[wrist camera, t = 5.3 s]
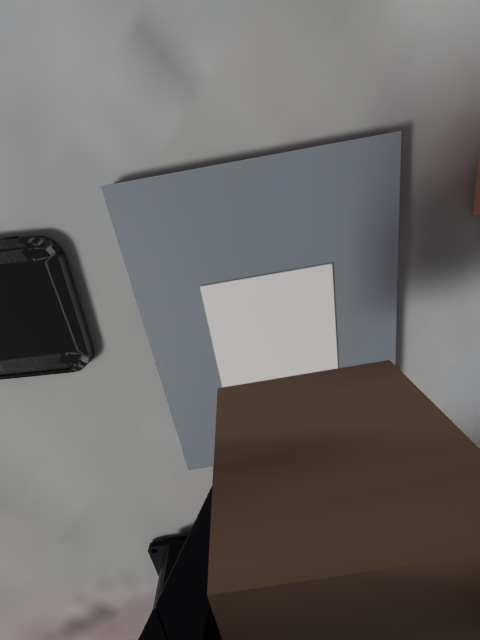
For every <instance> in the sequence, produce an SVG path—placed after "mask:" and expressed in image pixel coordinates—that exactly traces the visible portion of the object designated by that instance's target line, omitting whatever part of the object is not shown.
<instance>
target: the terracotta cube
mask: <svg viewBox="0 0 480 640" xmlns="http://www.w3.org/2000/svg"><path fill="white" fill-rule="evenodd" d="M473 216H480V151H479V160H478V169H477V179H476V188H475V198H474V207H473Z"/></svg>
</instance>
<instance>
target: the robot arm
mask: <svg viewBox="0 0 480 640" xmlns="http://www.w3.org/2000/svg"><path fill="white" fill-rule="evenodd" d="M212 486H213V485H212ZM211 506H212V487H211V489H210V491H209V493H208V495H207V498H206V500H205V502H204V504H203V506H202V508H201V510H200V512H199V514H198V516H197V519H196V521H195V523H194V525H193V527H192V529H191V531H190V533H189V535H188V537H181V538H175V539H168V540H162V541H155V542H151V543H150V545H149V549H148V552H149V555H150V557H151V559H152V562H153V564H154V566H155V568H156V571H157V573H158V575H159V579H158V585H157V590H156V596H155V601H154V607H153V610H152V612H151V614H150V617H149V619H148V621H147V623H146V625H145V627H144V629H143V631H142V633H141V635H140V637H139V639H138V640H222V637H221V634H220V631H219V628H218V626H217V623H216V620H215V617H214V614H213V611H212V608H211V606H210V603H209V600H208V597H207V585H208V565H209V545H210V526H211Z"/></svg>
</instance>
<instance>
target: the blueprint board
mask: <svg viewBox="0 0 480 640" xmlns="http://www.w3.org/2000/svg"><path fill="white" fill-rule="evenodd" d="M400 166H401V131H397V132H392V133H386V134H381V135H376V136H370V137H365V138H359V139H354V140H348V141H343V142H337V143H332V144H327V145H321V146H316V147H310V148H305V149H299V150H294V151H289V152H283V153H278V154H272V155H267V156H261V157H256V158H250V159H245V160H240V161H234V162H229V163H223V164H218V165H212V166H207V167H202V168H196V169H191V170H185V171H180V172H174V173H169V174H163V175H158V176H153V177H147V178H142V179H136V180H131V181H125V182H120V183H115V184H109V185H104V186H101V188H102V191H103V194H104V197H105V201H106V204H107V207H108V210H109V214H110V217H111V220H112V223H113V226H114V230H115V233H116V236H117V239H118V243H119V246H120V249H121V252H122V256H123V259H124V262H125V265H126V268H127V272H128V275H129V278H130V281H131V285H132V288H133V291H134V294H135V298H136V301H137V304H138V307H139V311H140V314H141V317H142V320H143V323H144V327H145V330H146V333H147V336H148V340H149V343H150V346H151V349H152V353H153V356H154V359H155V362H156V365H157V369H158V372H159V375H160V378H161V382H162V385H163V388H164V391H165V395H166V398H167V401H168V404H169V408H170V411H171V414H172V417H173V420H174V424H175V427H176V430H177V433H178V437H179V440H180V443H181V446H182V450H183V453H184V456H185V459H186V462H187V466H188V469H189V470H191V469H198V468H204V467H210V466H214V447H215V427H216V408H217V388H222V387H228V386H234V385H240V384H246V383H252V382H258V381H265V380H271V379H277V378H283V377H289V376H295V375H301V374H307V373H313V372H319V371H325V370H331V369H337V368H343V367H349V366H355V365H361V364H367V363H373V362H379V361H385V360H390V361H391V362H392V363H393V364H394V365H395V363H396V324H397V284H398V245H399V205H400Z"/></svg>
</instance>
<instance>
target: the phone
mask: <svg viewBox="0 0 480 640" xmlns="http://www.w3.org/2000/svg"><path fill="white" fill-rule="evenodd" d="M93 354H94V348H93V344H92V341H91V337H90V334H89V331H88V327H87V324H86V321H85V317H84V314H83V311H82V307H81V304H80V301H79V298H78V294H77V291H76V288H75V284H74V281H73V278H72V274H71V271H70V268H69V265H68V261H67V258H66V255H65V253H64V251H63V249H62V248H61V247H60V246H59V244H58V243H56V242H55V241H53V240H52V239H50V238H47V237H44V236H32V237H22V238H18V236H17V237H7V238H5V239H2V240H0V379H10V378H20V377H30V376H40V375H50V374H60V373H70V372H76V371H80V370H81V369H83V368H84V367H85V366H86V365H87V364H88V363H89V362H90V360H91V359H92V358H93Z"/></svg>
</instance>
